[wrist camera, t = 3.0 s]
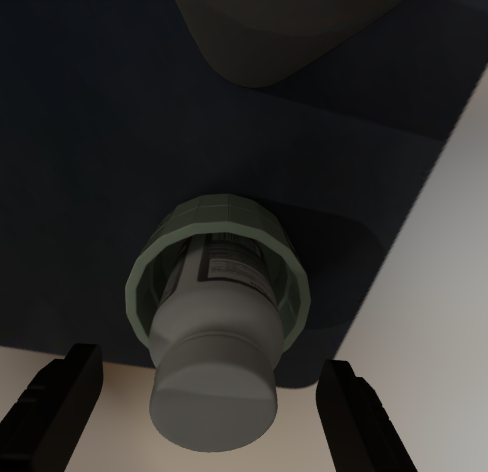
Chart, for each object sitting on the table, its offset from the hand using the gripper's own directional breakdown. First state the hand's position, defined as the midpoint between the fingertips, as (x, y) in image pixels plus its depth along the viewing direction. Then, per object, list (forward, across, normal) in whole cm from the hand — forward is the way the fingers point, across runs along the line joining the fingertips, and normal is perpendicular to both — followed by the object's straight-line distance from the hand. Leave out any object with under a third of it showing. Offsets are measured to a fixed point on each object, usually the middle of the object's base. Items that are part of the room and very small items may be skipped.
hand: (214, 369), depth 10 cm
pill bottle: (+8, 0, 0) cm, 8 cm away
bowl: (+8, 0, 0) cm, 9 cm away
